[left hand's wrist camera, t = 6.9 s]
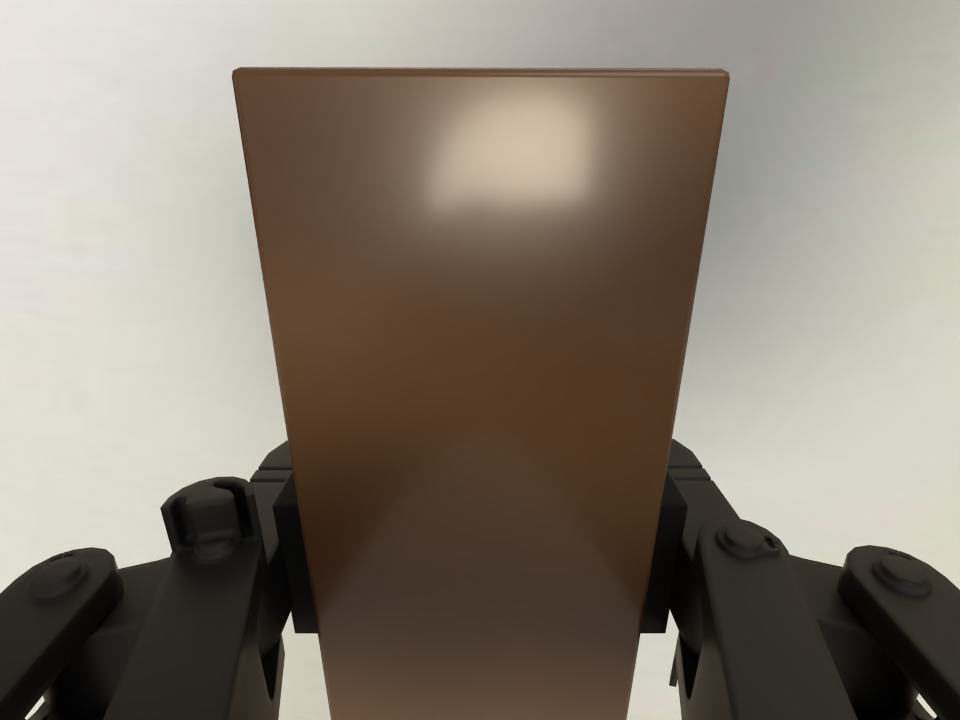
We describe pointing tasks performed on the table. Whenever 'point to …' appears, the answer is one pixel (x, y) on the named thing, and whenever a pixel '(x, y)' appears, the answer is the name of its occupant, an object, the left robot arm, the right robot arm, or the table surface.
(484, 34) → the table surface
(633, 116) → the post
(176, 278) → the table surface
